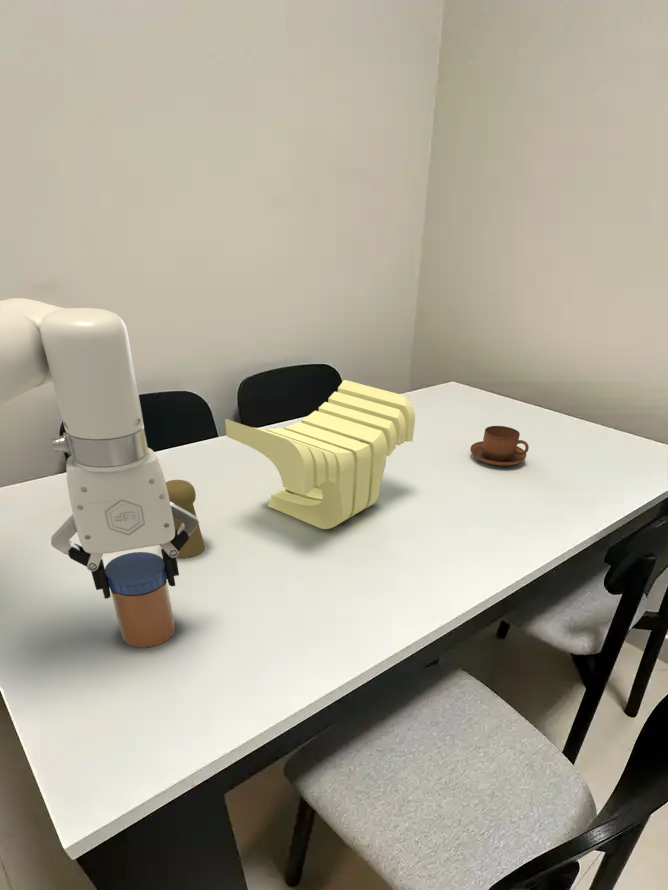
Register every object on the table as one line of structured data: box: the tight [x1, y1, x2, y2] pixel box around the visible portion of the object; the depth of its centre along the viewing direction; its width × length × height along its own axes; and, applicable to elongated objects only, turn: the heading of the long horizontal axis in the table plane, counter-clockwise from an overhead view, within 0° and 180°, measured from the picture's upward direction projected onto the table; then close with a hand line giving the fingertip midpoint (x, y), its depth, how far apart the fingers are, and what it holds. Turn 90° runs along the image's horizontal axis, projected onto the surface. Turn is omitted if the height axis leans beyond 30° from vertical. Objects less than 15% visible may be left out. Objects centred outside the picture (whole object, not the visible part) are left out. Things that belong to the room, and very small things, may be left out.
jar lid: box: [104, 551, 167, 595], centre depth 70 cm, size 7×7×2 cm
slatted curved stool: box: [224, 379, 416, 530], centre depth 100 cm, size 30×16×18 cm, turn 143°
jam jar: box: [109, 579, 176, 649], centre depth 73 cm, size 7×7×9 cm
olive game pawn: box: [165, 479, 206, 559], centre depth 89 cm, size 6×6×11 cm
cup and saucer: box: [470, 425, 530, 467], centre depth 125 cm, size 12×12×6 cm
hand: (139, 585), depth 71 cm, fingers closed on jar lid, 6 cm apart
